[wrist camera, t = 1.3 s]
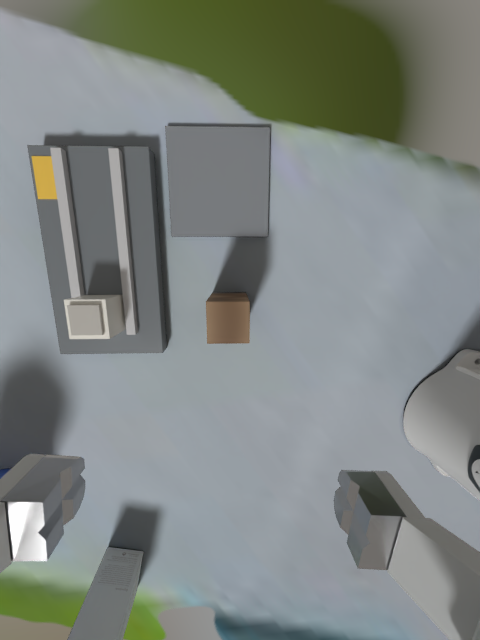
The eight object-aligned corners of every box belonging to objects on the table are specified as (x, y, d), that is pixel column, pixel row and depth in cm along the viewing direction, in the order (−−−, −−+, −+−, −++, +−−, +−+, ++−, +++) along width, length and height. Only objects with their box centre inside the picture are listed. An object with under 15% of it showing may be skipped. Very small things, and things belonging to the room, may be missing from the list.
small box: (108, 544, 39) (63, 645, 29) (144, 550, 39) (113, 651, 29) (102, 584, 40) (58, 692, 30) (137, 588, 41) (105, 697, 31)
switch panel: (154, 154, 28) (145, 142, 25) (166, 347, 32) (160, 355, 30) (42, 153, 27) (20, 141, 25) (71, 348, 32) (55, 356, 29)
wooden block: (245, 292, 31) (249, 301, 23) (245, 323, 32) (249, 343, 24) (212, 292, 31) (206, 301, 23) (213, 324, 32) (207, 343, 24)
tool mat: (269, 130, 28) (270, 127, 27) (267, 236, 30) (267, 236, 29) (166, 129, 27) (165, 125, 27) (172, 236, 30) (171, 236, 29)
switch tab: (122, 294, 29) (103, 300, 24) (126, 329, 30) (107, 340, 25) (86, 294, 29) (60, 300, 24) (91, 329, 30) (67, 340, 25)
